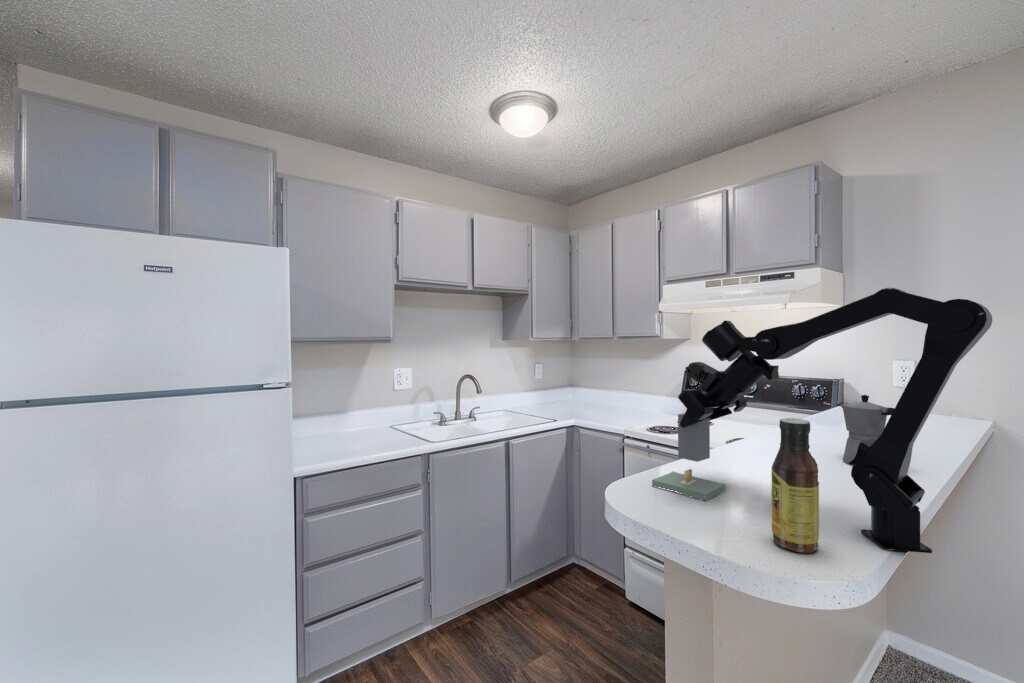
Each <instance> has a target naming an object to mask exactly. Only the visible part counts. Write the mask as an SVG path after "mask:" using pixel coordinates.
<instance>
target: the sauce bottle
mask: <svg viewBox="0 0 1024 683" xmlns="http://www.w3.org/2000/svg"><path fill="white" fill-rule="evenodd" d="M779 429H780V443H779V449H778V452H777V453H776V455H775V456H776V457H775V458H774V460H773V463H772V466H771V531H772V532H771V533H772V538H773V541H774V542H775V543H776V545H778V547H780V548H784V549H785V548H786V550H789V551H791V552H797V553H802V554H811V553H814V552H815V551H816V550H817V549H818V548H819V540H820V539H819V538H820V532H819V531H820V515H819V514H820V502H819V500H820V495H819V494H820V488H819V487H820V482H819V467H818V466H819V464H818V463H817V461H816V459H815V457H814V456H812V454H811V452H810V440H809V439H810V432H811V422H810V420H806V419H802V418H793V417H784V418H780V419H779Z"/></svg>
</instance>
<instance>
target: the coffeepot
mask: <svg viewBox="0 0 1024 683" xmlns="http://www.w3.org/2000/svg"><path fill="white" fill-rule="evenodd" d="M860 397H861V401H860V402H849V403H840V404H839V407H840V408H841V409H842V413H843V417H844V418H843V419H844V423H845V428H846V431H848V437H847V438H846V443H845V447H844V453H843V458H842V462H843V463H845V464H847V465H849V466H851V465H850V464H849V462H850V461H852V460H853V459H854V458H855V456H856V454H857V450H858V446H859V444H860V442H862V441H864V440H866V439H869V438H873V439H875V440H877V439H878V438H879V437H880V435H881V434H882V432H883V430H884V428H885V426H886V424H887V417H888V416H891V415H892V413H893V411H894V409H895V407H888V406H887V407H886V406H882V405H881V404H880V405H879V404H876V403H872V402H868V401H869V398H870V395H867V394H862V395H860ZM853 466H854V465H852V466H851V467H853Z"/></svg>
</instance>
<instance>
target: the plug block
mask: <svg viewBox="0 0 1024 683" xmlns="http://www.w3.org/2000/svg"><path fill="white" fill-rule="evenodd" d="M684 414H685V412H684V413H679V414H677V457H678V458H680V459H683V460H688V461H692V462H697V463H698V462H701V461H704V460H707V459H710V457H711V456H710V455H711V454H710V453H711V452H710V449H711V448H710V447H711V445H710V442H711V441H710V439H711V438H710V437H711V436H710V435H711V434H710V426H711V425H710V421H711V420H710V419H707V420H704V421H701V422H699V423H696V424H693V425H690V426H687V427H684V428H682V427H681V426H680V422H681V420H682V418H683V416H684Z"/></svg>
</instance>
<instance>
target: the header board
mask: <svg viewBox="0 0 1024 683" xmlns="http://www.w3.org/2000/svg"><path fill="white" fill-rule="evenodd" d="M651 481H652V482H651V483H652V484H651V487H652V486H656V487H661V488H665V489H669V490H673V491H677V492H679V493H682V494H685V495H688V496H692V497H695V498H698V499H697V500H699V499H702V500H705V501H704V502H708V501H709V500H708V499H710V500H712V499H713V498H712V497H714V496H716V495H717V496H719V495H721V494H723V493H725V492H726V490H727V489H726V486H727V485H726V483H723V482H718V481H714V480H709V479H706V478H705V479H704V478H701V477H697V476H693V469H691V468H690V469H686V470H684V473H680V472H676V471H672V472H669V473H667V474H664V475H661V476H658V477H655V478H654V479H652V480H651ZM656 487H655V488H656ZM724 491H725V492H724ZM722 492H723V493H722ZM720 493H721V494H720ZM718 494H719V495H718ZM688 496H687V497H688ZM717 496H716V497H717ZM692 497H691V498H692ZM695 498H694V499H695ZM711 498H712V499H711ZM714 498H715V497H714ZM702 500H701V501H702ZM707 500H708V501H707Z"/></svg>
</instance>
